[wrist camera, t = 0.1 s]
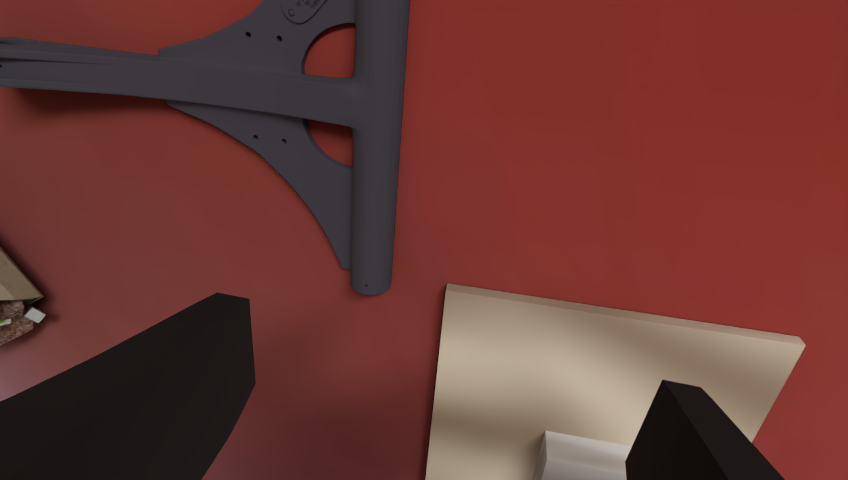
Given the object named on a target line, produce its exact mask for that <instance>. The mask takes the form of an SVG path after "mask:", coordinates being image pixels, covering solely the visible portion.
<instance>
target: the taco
mask: <svg viewBox="0 0 848 480" xmlns="http://www.w3.org/2000/svg"><path fill="white" fill-rule="evenodd" d="M42 297H44V296H43V295H42V294H41V292H40V291H39V290H38V289H37V288H36V287H35V286H34V284H33V283H32V282H31V281H30V280H29V279H28V278H27V276H26V275H25V274H24V273H23V272H22V271H21V269H20V268H19V267H18V266H17V265H16V264H15V263H14V261H13V260H12V259H11V258H10V257H9V256H8V255H7V253H6V252H5V251H4V250H3V249H2V248H1V247H0V345H2V344H5V343H7V342H9V341H11V340H13V339H15V338H17V337H19V336H21V335H23V334H24V333H26V332H28V331H30V330H32V329H33V327H34V325H35V323H36V322H37V323H39V322H40V321H41V320H42V319H43V318H44V317H45V315H46V314H45V313H43V312H41V310H40V309H38V308H35V307H33V306H31V304H32V303H33V302H35V301H36V300H38V299H40V298H42Z"/></svg>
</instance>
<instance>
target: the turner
mask: <svg viewBox="0 0 848 480" xmlns="http://www.w3.org/2000/svg"><path fill="white" fill-rule="evenodd" d="M631 448H632V446H627V445H622V444H616V443H611V442H605V441H600V440H594V439H589V438H583V437H578V436H572V435H567V434H561V433H556V432H550V431H545V434H544V438H543V442H542V446H541V449H540V453H539V457H538V461H537V464H536V468H535V472H534V476H533V479H532V480H627V478H626V466H625V461H626V459H627V456H628V454H629V452H630V450H631Z"/></svg>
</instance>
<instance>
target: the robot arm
mask: <svg viewBox="0 0 848 480" xmlns="http://www.w3.org/2000/svg"><path fill="white" fill-rule="evenodd" d="M255 383H256V382H255V369H254V356H253V343H252V330H251V317H250V303H249V299H247V298H242V297H237V296H232V295H226V294H221V293H216V294H214V295H211V296H209V297H207V298H205V299H203V300H201V301H199V302H197V303H195V304H193V305H191V306H190V307H188V308H186V309H184V310H182V311H180V312H178V313H176V314H174V315H173V316H171V317H169V318H167V319H165V320H163V321H161V322H159V323H158V324H156V325H154V326H152V327H150V328H148V329H146V330H145V331H143V332H141V333H139V334H137V335H135V336H133V337H131V338H129V339H127V340H125V341H124V342H122V343H120V344H118V345H116V346H114V347H112V348H110V349H108V350H106V351H105V352H103V353H101V354H99V355H97V356H95V357H93V358H91V359H89V360H87V361H85V362H83V363H81V364H79V365H76V366H74V367H72V368H70V369H68V370H66V371H64V372H62V373H60V374H58V375H56V376H54V377H52V378H50V379H47V380H45V381H43V382H41V383H39V384H37V385H35V386H33V387H31V388H29V389H27V390H25V391H23V392H21V393H19V394H16V395H14V396H12V397H10V398H8V399H5V400H3V401H1V402H0V480H201V479H202V478H203V476H204V475H205V473H206V472H207V470H208V469H209V467H210V465H211V464H212V462H213V461H214V459H215V458H216V456H217V455H218V453H219V452H220V450H221V448H222V447H223V445H224V444H225V442H226V441H227V439H228V437H229V436H230V434H231V432H232V430H233V428H234V426H235V424H236V423H237V421H238V419H239V417H240V415H241V413H242V411H243V409H244V407H245V404H246V402H247V400H248V398H249V396H250V394H251V392H252V390H253V388H254V386H255ZM625 466H626V478H627V480H784V478H783V477H782V476H781V475H780V474H779V473H778V472H777V471H776V470H775V468H774V467H773V466H772V465H771V464H770V463H769V462H768V461H767V460H766V458H765V457H764V456H763V455H762V454H761V453H760V452H759V451H758V449H757V448H756V447H755V446H754V445H753V444H752V443H751V442H750V440H749V439H748V438H747V437H746V436H745V435H744V434H743V433H742V431H741V430H740V429H739V428H738V427H737V426H736V425H735V424H734V422H733V421H732V420H731V419H730V418H729V417H728V416H727V415H726V414H725V412H724V411H723V410H722V409H721V408H720V407H719V406H718V405H717V404H716V403H715V401H714V400H713V399H712V398H711V397H710V396H709V395H708V394H707V393H706V392H705V391H704V390H703V389H702V388H701V387H698V386H693V385H688V384H683V383H678V382H673V381H667V380H662V381H661V384H660V386H659V388H658V390H657V392H656V395H655V397H654V399H653V401H652V403H651V406H650V408H649V410H648V412H647V414H646V417H645V419H644V421H643V423H642V426H641V428H640V430H639V432H638V434H637V437H636V439H635V441H634V443H633V445H632V448H631V450H630V452H629V454H628V456H627V459H626V461H625Z"/></svg>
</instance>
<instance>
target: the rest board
mask: <svg viewBox="0 0 848 480" xmlns="http://www.w3.org/2000/svg"><path fill="white" fill-rule="evenodd" d="M805 346H806V345H805V344H804V343H803V341H802V340H801V339H800V338H799V337H797V336H791V335H784V334H777V333H771V332H764V331H758V330H751V329H745V328H738V327H731V326H725V325H718V324H712V323H705V322H698V321H692V320H685V319H679V318H672V317H666V316H659V315H652V314H646V313H639V312H633V311H626V310H620V309H613V308H606V307H600V306H593V305H587V304H580V303H574V302H567V301H560V300H554V299H547V298H541V297H534V296H528V295H521V294H514V293H508V292H501V291H495V290H488V289H481V288H475V287H468V286H462V285H455V284H449V283H447V288H446V293H445V303H444V312H443V321H442V331H441V340H440V349H439V358H438V368H437V377H436V386H435V395H434V405H433V414H432V423H431V432H430V442H429V451H428V460H427V469H426V479H425V480H532V479H533V476H534V472H535V468H536V464H537V461H538V457H539V453H540V449H541V446H542V442H543V438H544V434H545V431H550V432H556V433H561V434H567V435H572V436H578V437H583V438H589V439H594V440H600V441H605V442H611V443H616V444H622V445H627V446H632V445H633V443H634V441H635V439H636V437H637V434H638V432H639V430H640V428H641V426H642V423H643V421H644V419H645V417H646V414H647V412H648V410H649V408H650V406H651V403H652V401H653V399H654V397H655V395H656V392H657V390H658V388H659V386H660V384H661V381H662V380H667V381H673V382H678V383H683V384H688V385H693V386H698V387H701V388H702V389H703V390H704V391H705V392H706V393H707V394H708V395H709V396H710V397H711V398H712V399H713V400H714V401H715V403H716V404H717V405H718V406H719V407H720V408H721V409H722V410H723V411H724V412H725V414H726V415H727V416H728V417H729V418H730V419H731V420H732V421H733V422H734V424H735V425H736V426H737V427H738V428H739V429H740V430H741V431H742V433H743V434H744V435H745V436H746V437H747V438H748V439H749V440H750V442H751V443H752V441H753V439H754V437H755V436H756V434H757V432H758V430H759V428H760V427H761V425H762V423H763V421H764V419H765V418H766V416H767V414H768V412H769V410H770V409H771V407H772V405H773V403H774V401H775V400H776V398H777V396H778V394H779V393H780V391H781V389H782V387H783V385H784V384H785V382H786V380H787V378H788V376H789V375H790V373H791V371H792V369H793V367H794V366H795V364H796V362H797V360H798V358H799V357H800V355H801V353H802V351H803V349H804V348H805Z"/></svg>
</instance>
